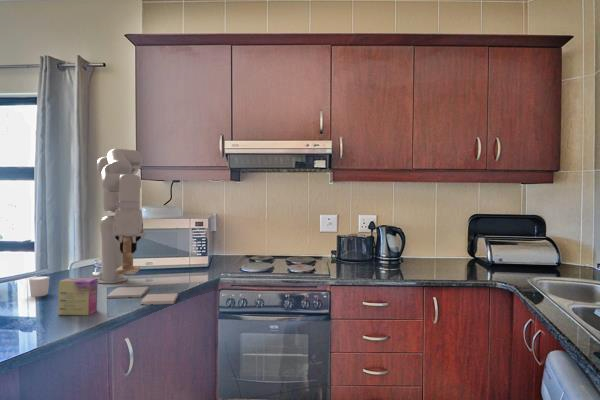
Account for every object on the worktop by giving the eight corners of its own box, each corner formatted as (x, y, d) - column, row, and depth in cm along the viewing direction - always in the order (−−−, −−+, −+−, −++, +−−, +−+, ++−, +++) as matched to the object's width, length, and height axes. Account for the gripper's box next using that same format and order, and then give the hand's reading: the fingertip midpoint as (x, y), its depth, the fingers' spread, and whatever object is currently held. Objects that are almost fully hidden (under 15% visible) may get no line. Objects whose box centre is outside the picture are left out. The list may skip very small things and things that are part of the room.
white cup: (46, 291, 150) (46, 275, 150) (51, 294, 146) (52, 277, 146) (26, 294, 145) (26, 277, 145) (31, 298, 141) (31, 280, 140)
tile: (140, 301, 135) (173, 300, 137) (146, 294, 144) (177, 293, 147) (140, 306, 135) (173, 304, 137) (146, 298, 144) (177, 297, 147)
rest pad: (106, 298, 142) (106, 295, 142) (117, 289, 155) (117, 287, 155) (140, 297, 145) (141, 294, 145) (148, 288, 157) (148, 286, 157)
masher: (115, 274, 135) (115, 237, 135) (121, 269, 142) (121, 235, 141) (134, 273, 136) (135, 237, 136) (139, 269, 143) (140, 235, 143)
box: (97, 310, 127) (97, 277, 127) (88, 315, 122) (89, 281, 122) (68, 310, 127) (68, 277, 127) (57, 315, 121) (58, 281, 121)
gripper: (103, 206, 133) (102, 254, 134) (148, 207, 136) (147, 254, 137) (110, 204, 141) (109, 250, 141) (153, 206, 143) (152, 250, 144)
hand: (128, 252), depth 139 cm, fingers closed on masher, 3 cm apart
